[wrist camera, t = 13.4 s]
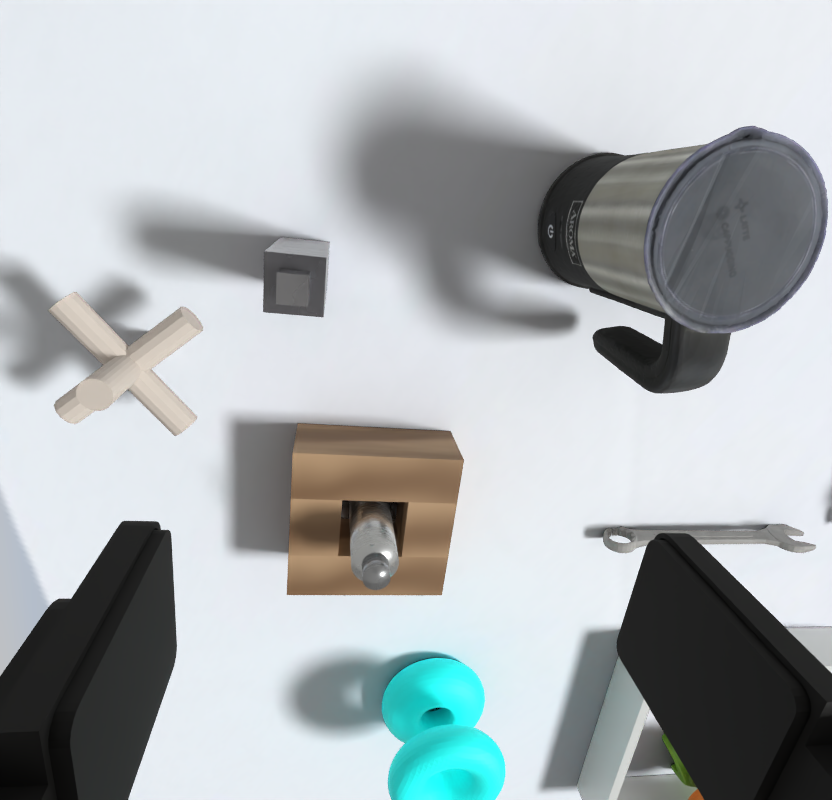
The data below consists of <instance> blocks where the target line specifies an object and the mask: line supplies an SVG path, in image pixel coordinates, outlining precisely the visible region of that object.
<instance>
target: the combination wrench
mask: <svg viewBox="0 0 832 800" xmlns="http://www.w3.org/2000/svg"><path fill="white" fill-rule="evenodd" d="M611 532H612V535H618V536H623V537H626V538H628V539H629V540H630V541H631V542H630V543H618V542H615V541H612V540H611V539H609V537H610V536H611ZM659 533H686V534H690V535H691V536H692V537H694V538H695V539H696V540H697V541H698V542H699V543H700V544H769V545H774V546H778V547H780V548H782V549H784V550H787V551H791V552H796V553H804V552H809V551H812V550H814V549H815V548H816V545H813V544H809V543H805V542H800V541H795V540H793V539H791V538H789V537H788V536H787V535H790V536H803V534H804V532H802V531H800V530H798V529H795V528H793V527H790V526H787V525H784V524H770V525H768V526H767V527H766V528H764V529H761V530H758V531H704V530H634V529H628V528H625V527H619V528H615V529H611V528H607V529H606V530H605V531H604V535H603V542H604V544H605V546H606V547H607V548H609V549H610V550H612V551H615V552H618V553H629V552H632V551H633V550H635V549H636V548H638V547H642V546H646V545H648V543H649V542H650V541H651V540H654V538H655V537H656V536H657V535H658V534H659Z"/></svg>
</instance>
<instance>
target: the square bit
mask: <svg viewBox="0 0 832 800" xmlns="http://www.w3.org/2000/svg"><path fill="white" fill-rule="evenodd" d="M328 260H329V242H325V241H316V240H306V239H297V238H288V237H281V238H279V239H278V240H277V241H276V242H275V243H273V244H272V245H271V246H270V247H269V248H268V249H266V250H265V251H264V298H263V312H268V313H280V314H292V315H303V316H315V317H323V316H324V308H325V300H326V292H327V277H328Z"/></svg>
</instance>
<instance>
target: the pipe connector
mask: <svg viewBox="0 0 832 800" xmlns="http://www.w3.org/2000/svg"><path fill="white" fill-rule="evenodd" d="M48 311H49V312H50V313H51V314H52V315H53V316H54V317H55V318H56V319H57V320H58V321H59V322H60V323H61V324H62V325H63V326H64V327H65V328H66V329H67V330H68V331H69V332H70V333H71V334H72V335H73V336H74V337H75V338H76V339H77V340H78V341H79V342H80V343H81V344H82V345H83V346H84V347H85V348H86V349H87V350H88V351H89V352H90V353H91V354H92V355H93V356H94V357H95V358H96V359H97V360H98V361H99V362H100V363H101V364H102V365H103V366H102V367H101V368H99V369H98V370H97V371H95V372H94V373H93V374H91V375H90V376H89V377H87V378H86V379H85V380H83V381H82V382H81V383H79V384H78V385H77V386H75V387H74V388H73V389H71V390H70V391H69V392H67V393H66V394H65V395H63V396H62V397H61V398H59V399H58V400H57V401H56V402H55V404H54V407H55V411H56V412H57V414H58V415H59V416H60V417H61V418H62V419H64V420H65V421H67V422H68V423H72V424H76V423H79V422H81V421H82V420H83V419H85V418H86V417H87V416H89V415H90V414H91V413H93V412H94V411H101V410H105V409H106V408H108V407H109V406H110V405H111V404H112V403H113V402H115V401H116V400H117V399H118V398H119V397H120V396H121V395H122V394H123V393H124V392H125V391H126V390H127V389H128V390H129V391H130V392H131V393H132V394H133V395H134V396H135V397H136V398H137V399H138V400H139V401H140V402H141V403H142V404H143V405H144V406H145V407H146V408H147V409H148V410H149V411H150V412H151V413H152V414H153V415H154V416H155V417H156V418H157V419H158V420H159V421H160V422H161V423H162V424H163V425H164V426H165V427H166V428H167V429H168V430H169V431H170V432H171V433H172V434H173V435H174V436H177V435H179V434H180V433H182V432H183V431H184V430H186V429H187V428H188V427H189V426H190V425H191V424H192V423H193V422H194V421H195V420H196V419H197V416H196V415H195V414H194V413H193V412H192V411H191V410H190V409H189V408H188V407H187V406H186V405H185V404H184V403H183V401H182V400H181V399H180V398H179V397H178V396H177V395H176V394H175V393H174V392H173V391H172V390H171V389H170V388H169V387H168V386H167V385H166V384H165V383H164V382H163V381H162V380H161V379H160V378H159V377H158V376H157V375H156V374H155V373H154V372H153V371H152V370H151V369H152V368H153V367H155V366H156V365H157V364H159V363H160V362H161V361H163V360H164V359H165V358H167V357H168V356H169V355H171V354H172V353H173V352H175V351H176V350H178V349H179V348H180V347H182V346H183V345H184V344H186V343H187V342H188V341H190V340H191V339H192V338H194V337H195V336H196V335H198V334H199V333H200V332H202V331H203V326H202V324H201V322H200V321H199V319H198V318H197V317H196V315H195V314H193V313H192V312H191V311H190V310H189V309H187V308H186V307H180V308H179V309H178V310H176V311H175V312H174V313H172V314H171V315H170V316H168V317H167V318H166V319H164V320H163V321H162V322H160V323H159V324H158V325H156V326H155V327H154V328H152V329H151V330H150V331H148V332H147V333H146V334H144V335H143V336H142V337H140V338H139V339H138V340H137V341H135V342H134V343H133V344H131V345H130V346H128V345H127V344H126V343H125V342H124V341H123V340H122V339H121V338H120V337H119V336H118V334H117V333H116V332H115V331H114V330H113V329H112V328H111V327H110V326H109V325H108V324H107V323H106V322H105V321H104V320H103V319H102V318H101V317H100V316H99V315H98V314H97V313H96V312H95V311H94V310H93V309H92V308H91V307H90V306H89V305H88V304H87V303H86V302H85V300H84V299H83V298H82V297H81V296H80V295H79V294H78V293H77V292H73V293H71V294H69V295H68V296H66V297H65V298H63V299H61V300H60V301H59V302H57V303H56V304H55V305H53V306H52V307H51V308H50V309H49V310H48Z"/></svg>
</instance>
